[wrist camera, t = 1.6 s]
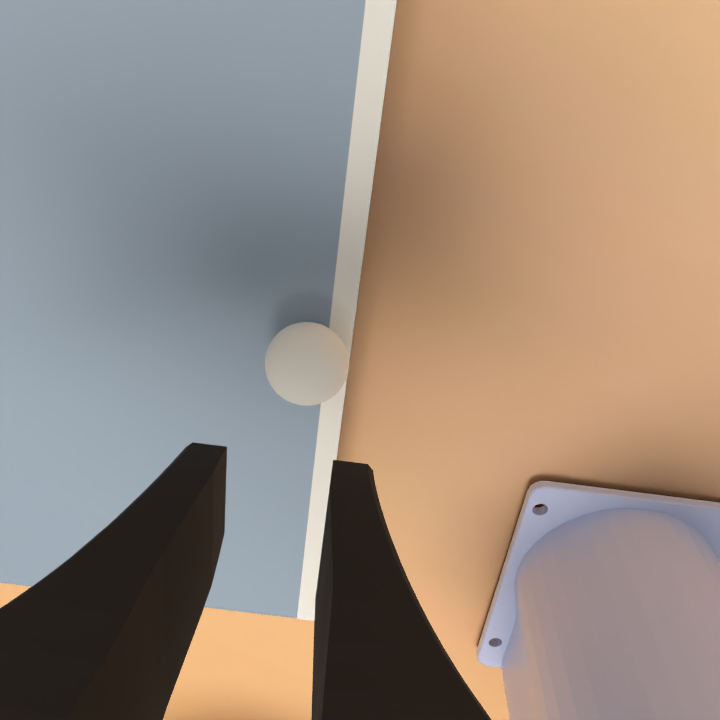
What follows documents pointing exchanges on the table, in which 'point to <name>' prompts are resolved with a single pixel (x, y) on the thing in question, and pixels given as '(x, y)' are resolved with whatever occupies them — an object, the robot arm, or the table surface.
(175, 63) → the lid
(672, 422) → the table surface
